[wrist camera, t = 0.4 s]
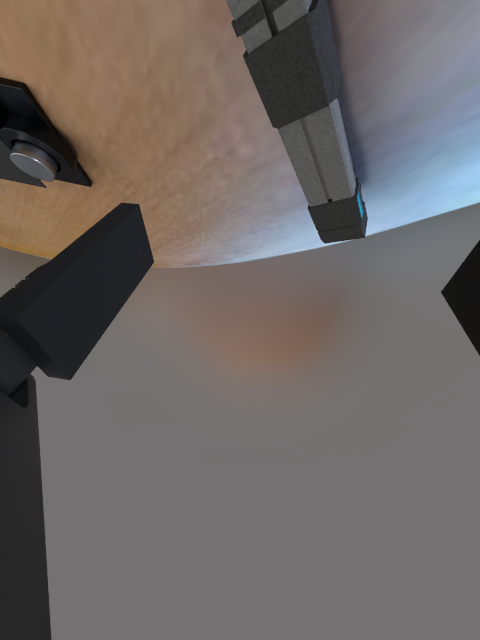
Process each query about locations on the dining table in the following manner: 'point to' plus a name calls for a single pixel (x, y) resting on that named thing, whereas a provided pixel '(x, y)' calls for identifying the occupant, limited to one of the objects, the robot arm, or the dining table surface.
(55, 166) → the button
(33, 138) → the tablet
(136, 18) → the dining table surface
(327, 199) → the gun
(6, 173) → the screen
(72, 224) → the dining table surface
